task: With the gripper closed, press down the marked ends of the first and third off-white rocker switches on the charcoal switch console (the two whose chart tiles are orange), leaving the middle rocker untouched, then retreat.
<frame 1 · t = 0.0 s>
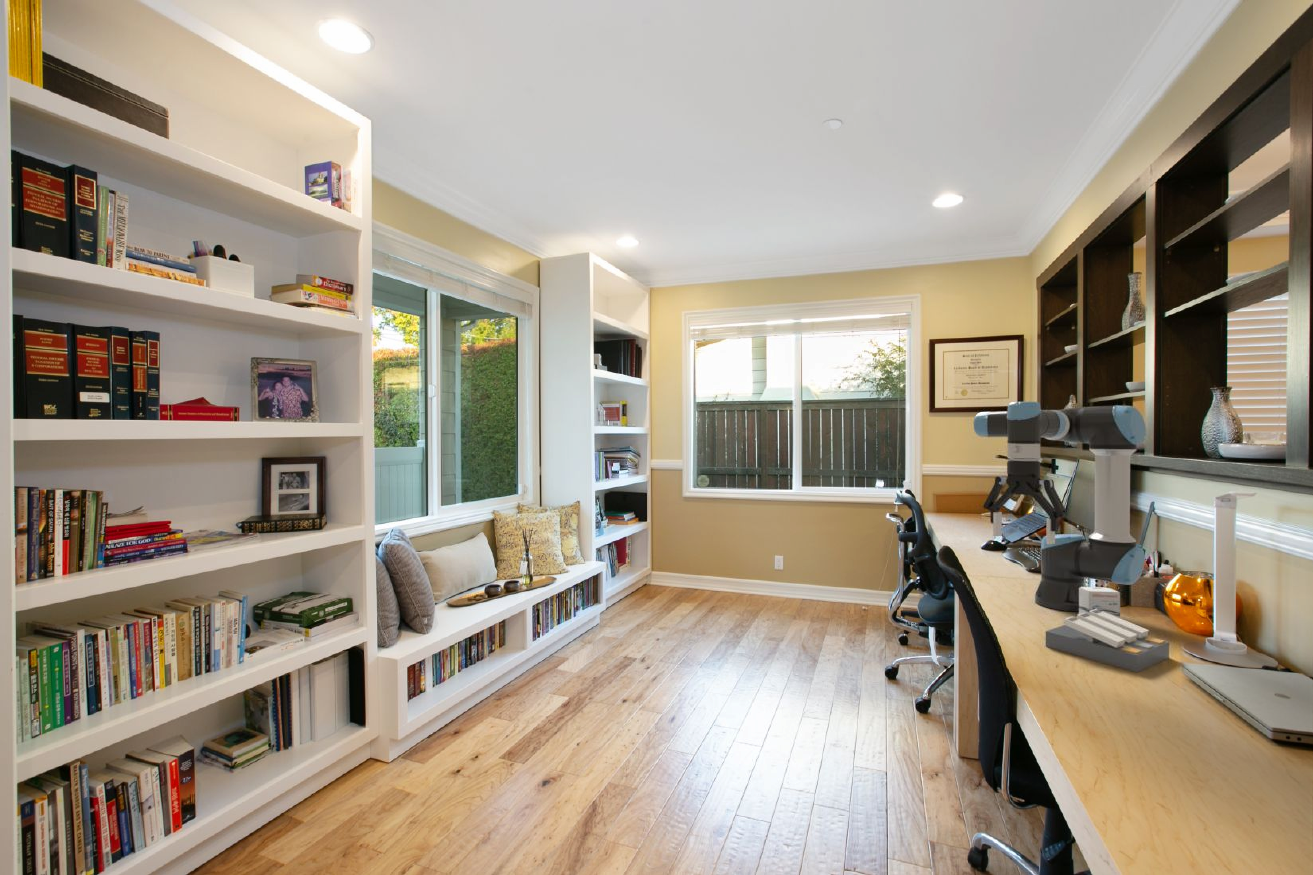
hand: (1023, 539, 158), 28 cm above the table, fingers open, 13 cm apart
rocker 2: (1105, 626, 153), point 6 cm above the table, hinge at -12.0°
ink box: (1099, 630, 170), on the table
rocker 1: (1117, 622, 156), point 6 cm above the table, hinge at -12.0°
rocker 3: (1093, 630, 150), point 6 cm above the table, hinge at -12.0°
console: (1105, 651, 153), on the table
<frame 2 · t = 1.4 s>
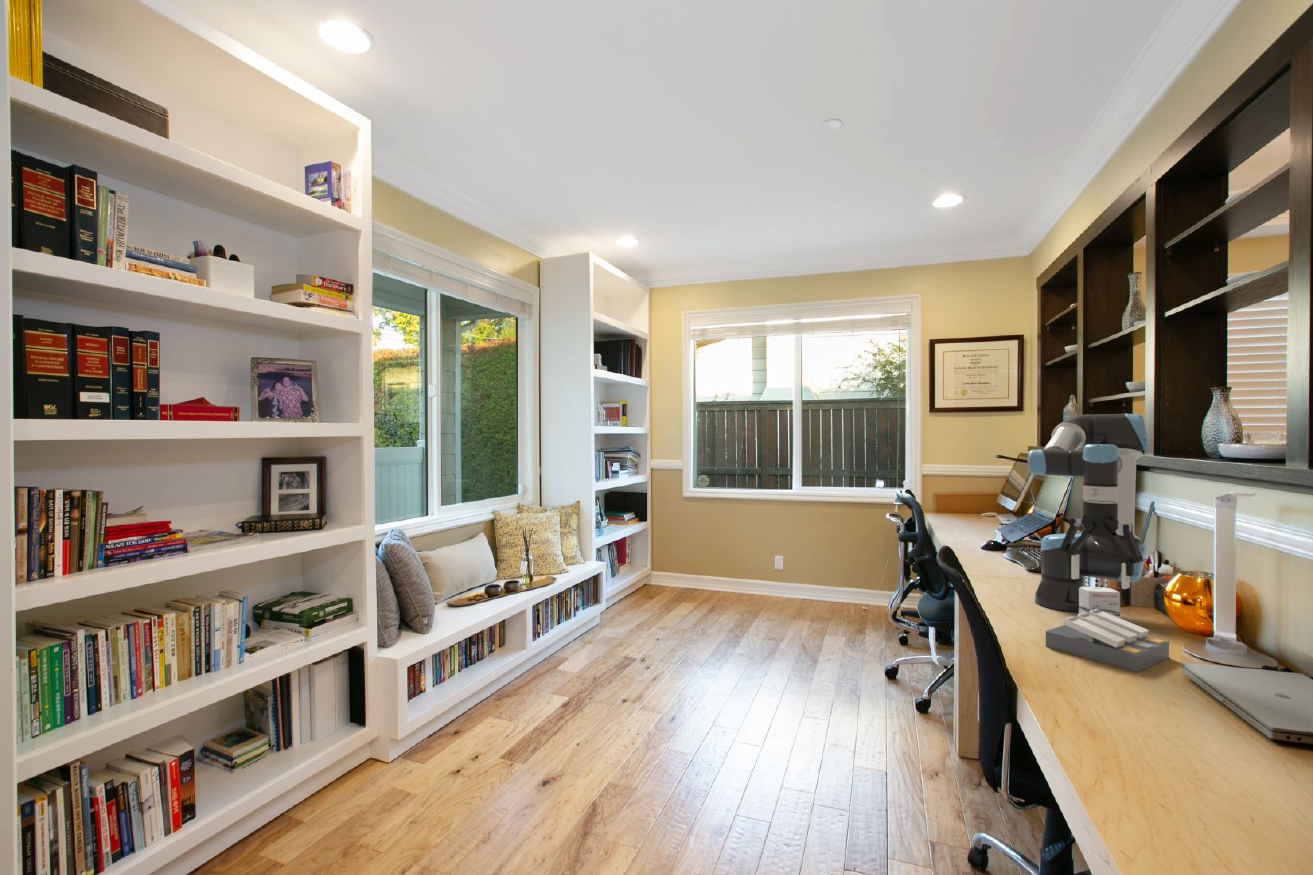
hand: (1099, 583, 160), 16 cm above the table, fingers open, 11 cm apart
nothing on the table moved.
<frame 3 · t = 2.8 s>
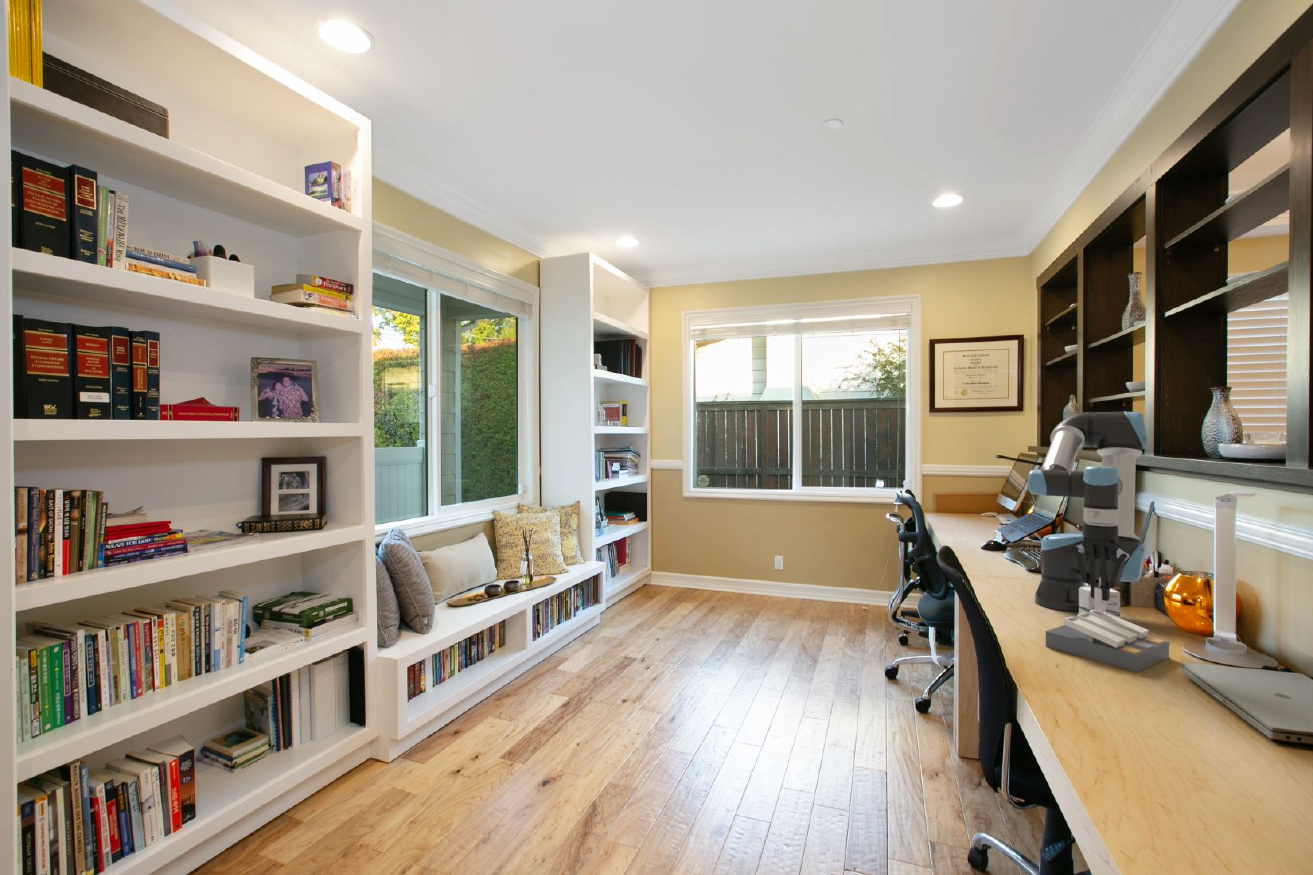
hand: (1099, 611, 160), 8 cm above the table, fingers closed
rocker 1: (1117, 622, 156), point 6 cm above the table, hinge at -12.0°, touching gripper
everything else where it was.
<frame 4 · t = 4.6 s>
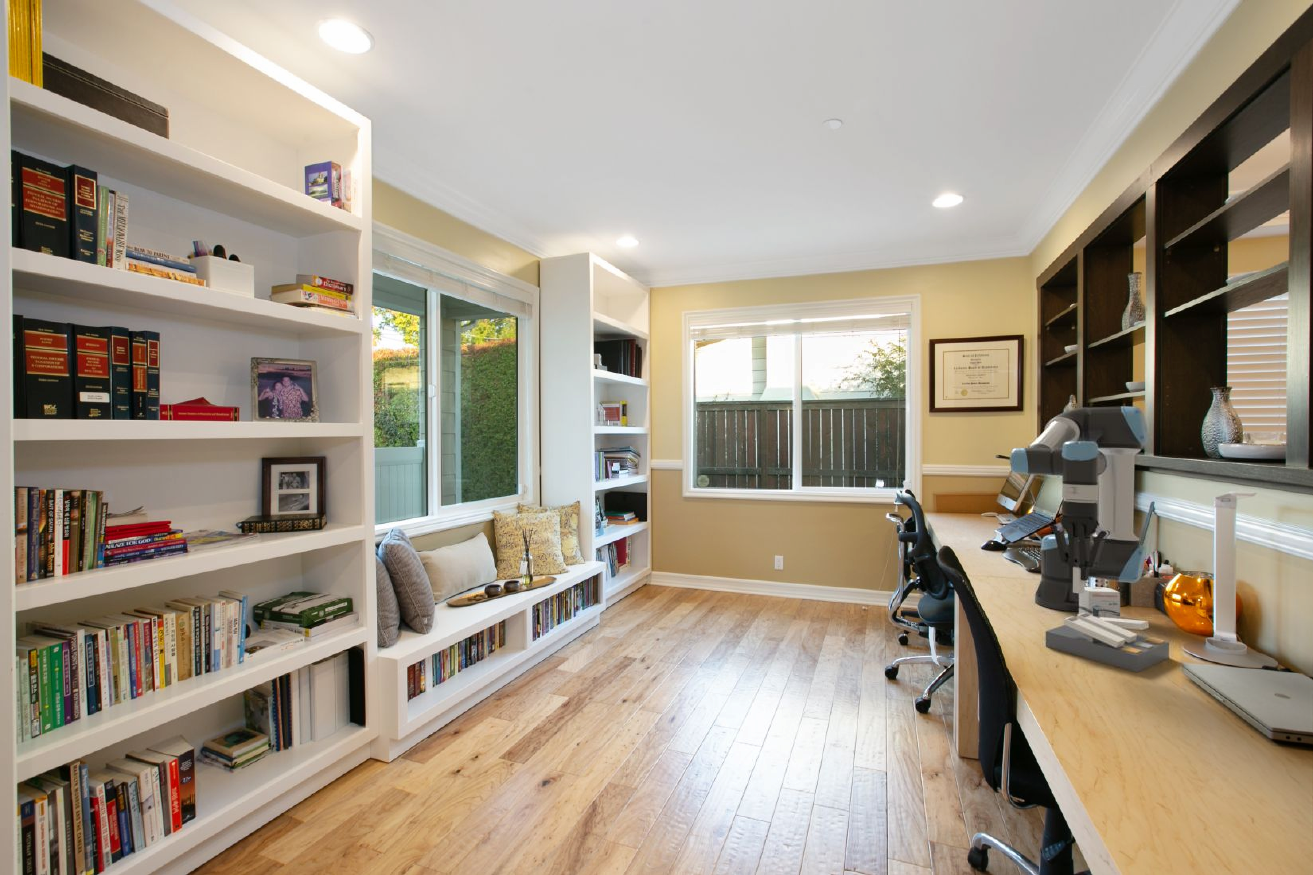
hand: (1078, 592, 153), 15 cm above the table, fingers closed
rocker 1: (1117, 622, 156), point 6 cm above the table, hinge at 9.5°
everything else where it was.
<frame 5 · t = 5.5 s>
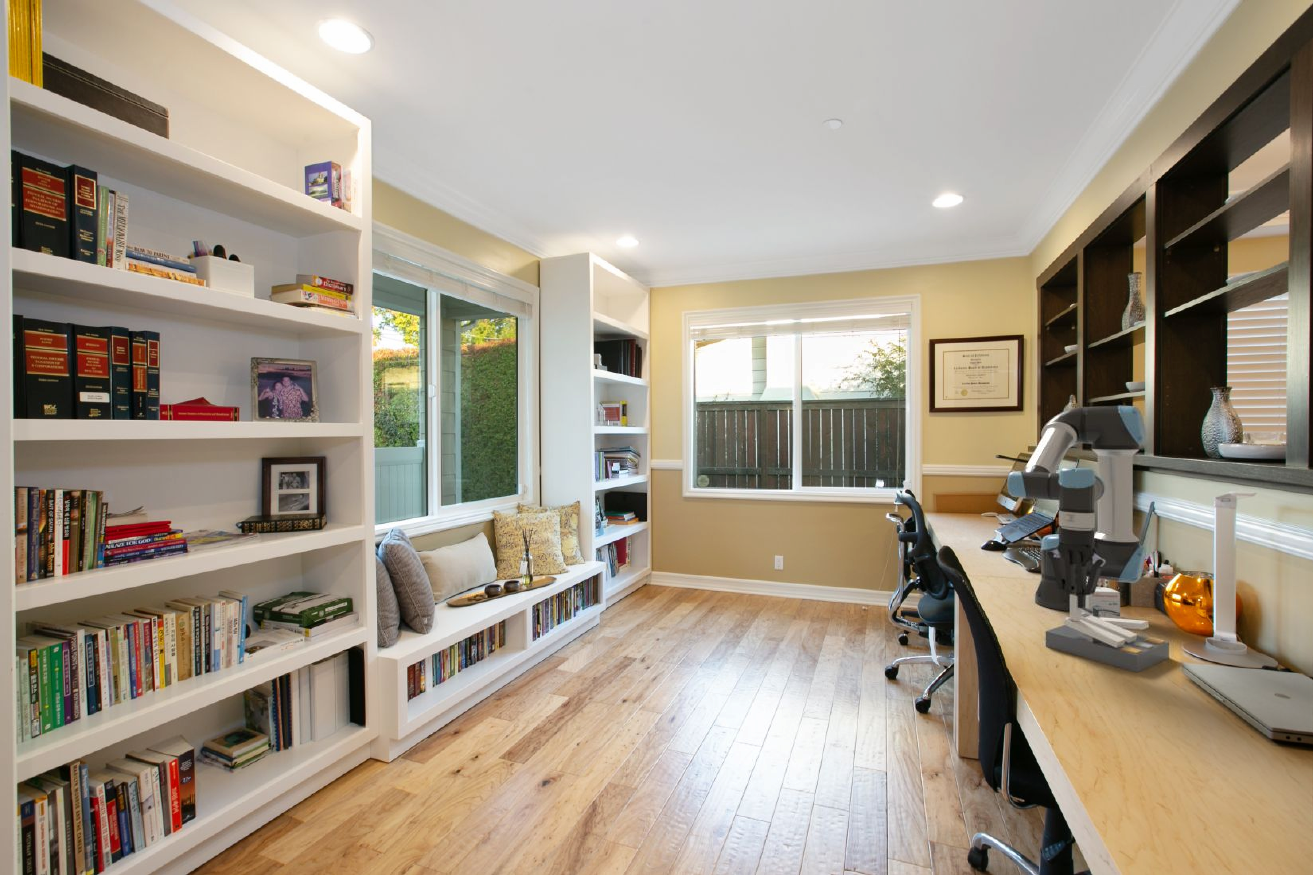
hand: (1075, 619, 153), 8 cm above the table, fingers closed
rocker 1: (1117, 622, 156), point 6 cm above the table, hinge at 10.0°
rocker 3: (1093, 630, 150), point 6 cm above the table, hinge at -12.0°, touching gripper
everything else where it was.
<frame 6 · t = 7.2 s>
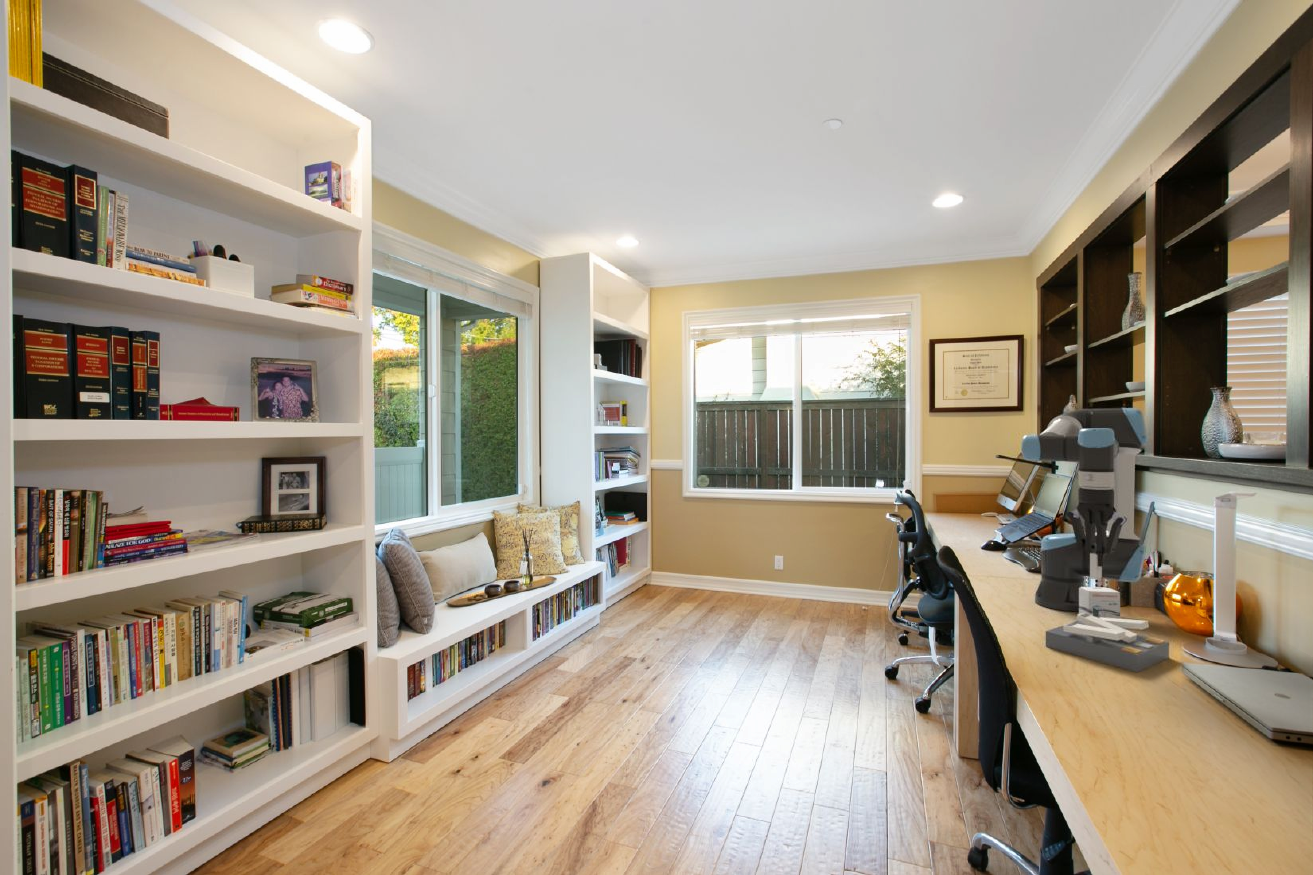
hand: (1095, 577, 155), 19 cm above the table, fingers closed
rocker 3: (1093, 630, 150), point 6 cm above the table, hinge at 5.7°
everything else where it was.
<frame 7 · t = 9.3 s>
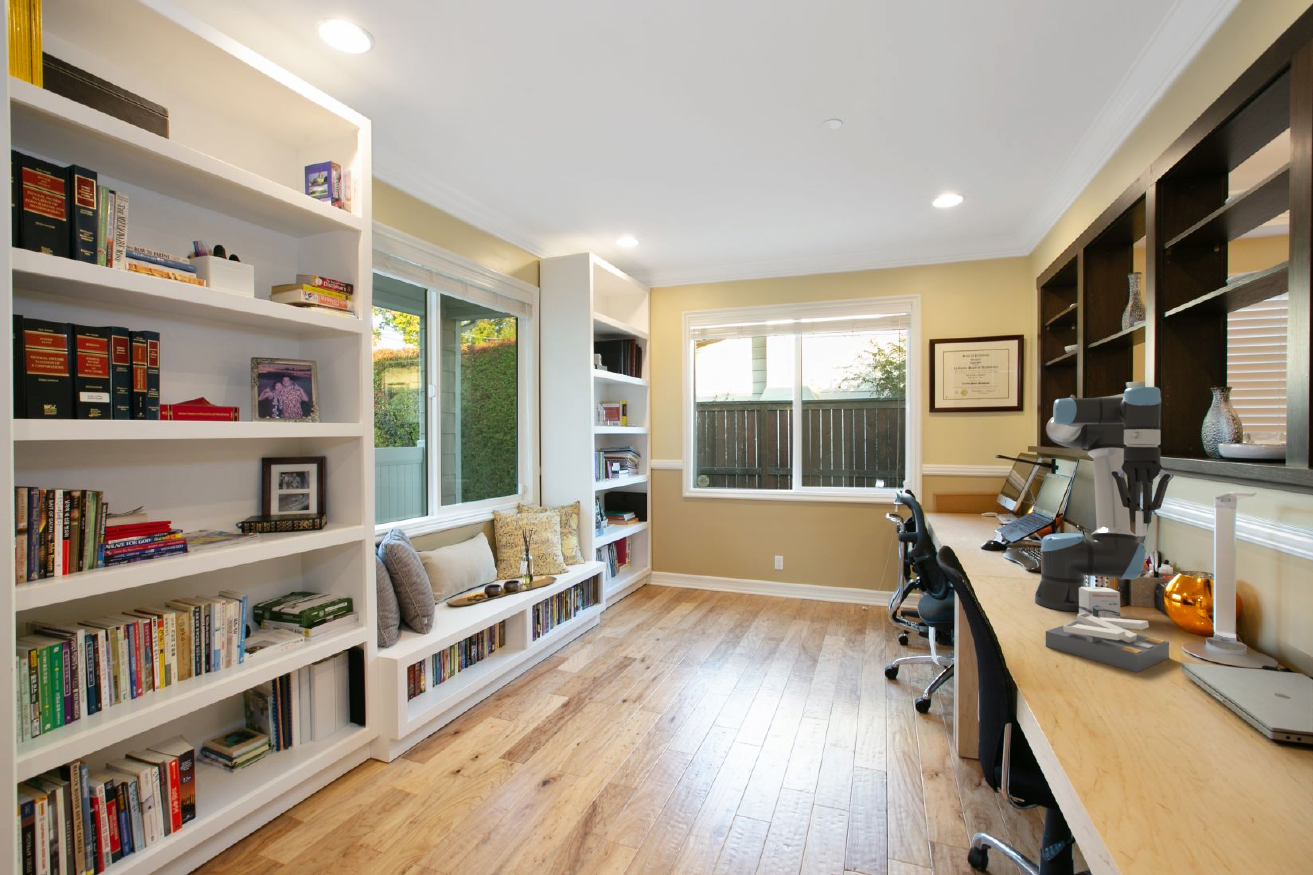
hand: (1141, 535, 156), 29 cm above the table, fingers closed
rocker 3: (1093, 630, 150), point 6 cm above the table, hinge at 6.3°
everything else where it was.
at the end: rocker 1 at +10° (first picture: -12°); rocker 3 at +6° (first picture: -12°); rocker 2 at -12° (first picture: -12°) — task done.
